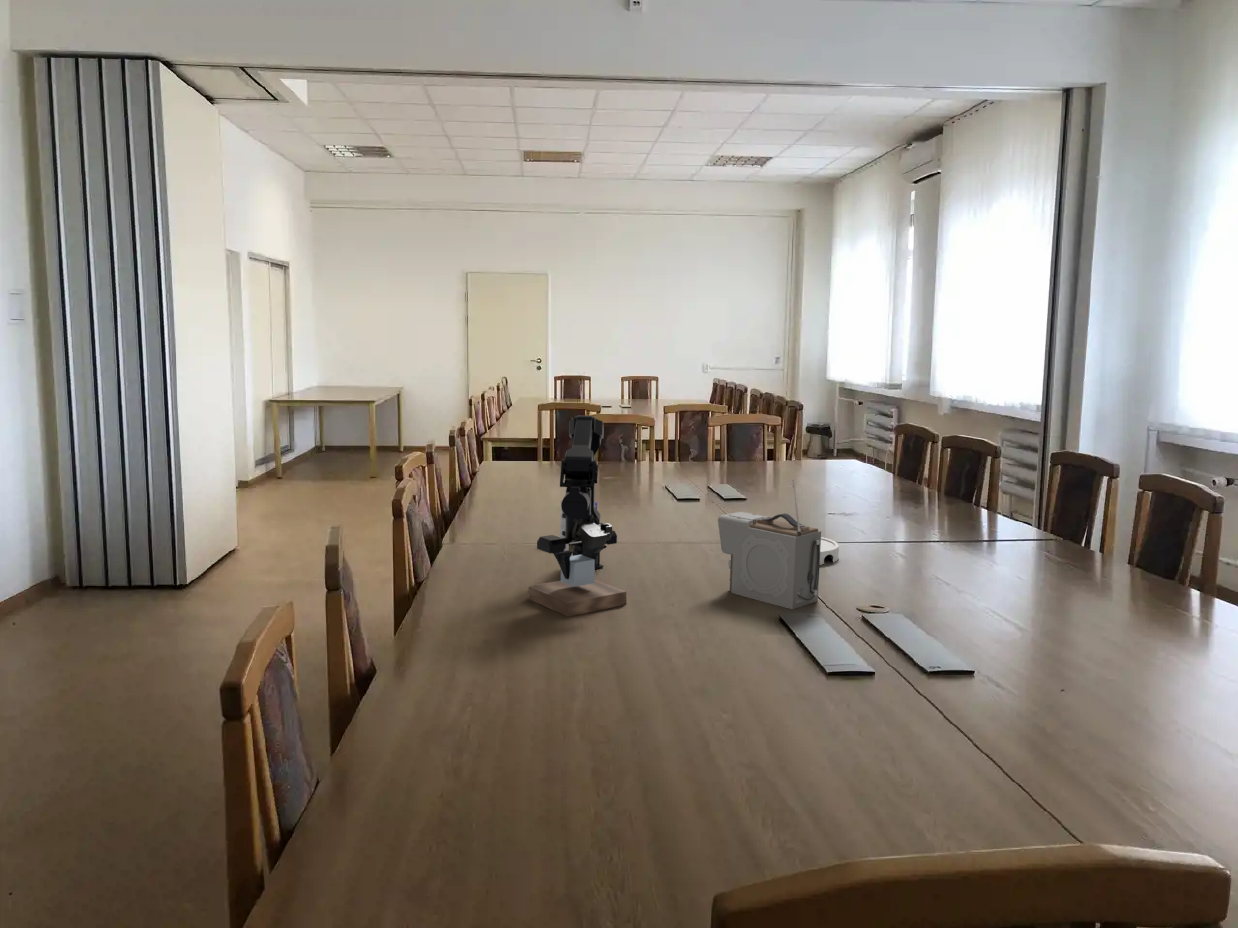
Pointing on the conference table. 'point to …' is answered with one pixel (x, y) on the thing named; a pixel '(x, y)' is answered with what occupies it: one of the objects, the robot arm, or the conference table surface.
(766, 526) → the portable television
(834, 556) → the ashtray
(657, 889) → the conference table surface
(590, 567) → the slate cube
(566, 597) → the walnut base
